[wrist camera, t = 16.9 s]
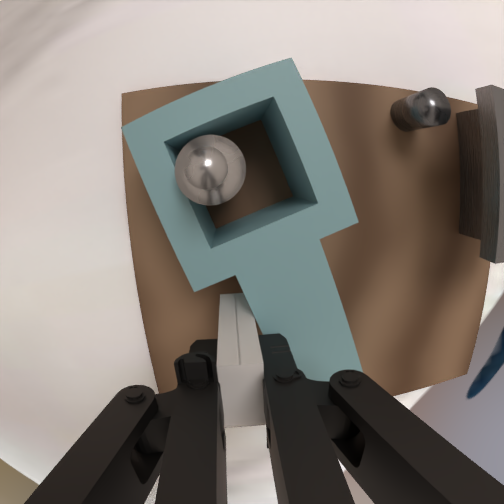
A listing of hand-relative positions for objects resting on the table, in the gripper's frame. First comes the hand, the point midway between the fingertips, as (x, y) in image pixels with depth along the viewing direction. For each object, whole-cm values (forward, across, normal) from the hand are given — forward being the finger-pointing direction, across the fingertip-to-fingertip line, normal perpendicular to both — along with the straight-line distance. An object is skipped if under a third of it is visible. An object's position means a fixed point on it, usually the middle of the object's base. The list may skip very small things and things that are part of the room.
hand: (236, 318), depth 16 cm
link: (+2, +2, +2) cm, 4 cm away
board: (+3, +6, +2) cm, 7 cm away
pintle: (+3, -1, +7) cm, 8 cm away
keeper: (+2, +14, +7) cm, 16 cm away
